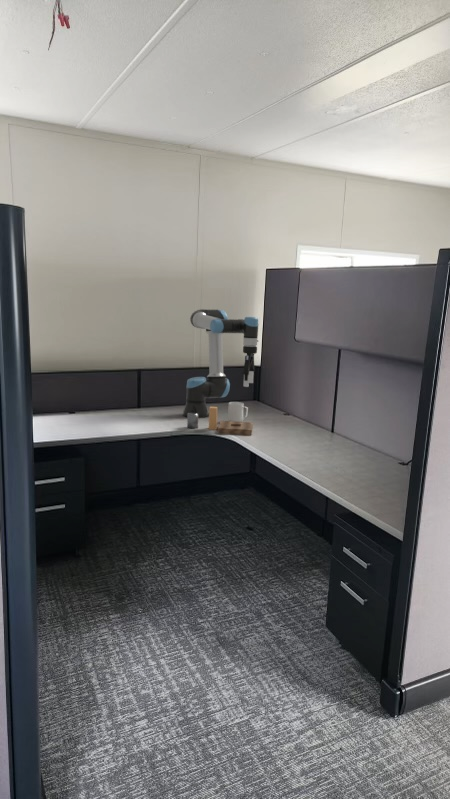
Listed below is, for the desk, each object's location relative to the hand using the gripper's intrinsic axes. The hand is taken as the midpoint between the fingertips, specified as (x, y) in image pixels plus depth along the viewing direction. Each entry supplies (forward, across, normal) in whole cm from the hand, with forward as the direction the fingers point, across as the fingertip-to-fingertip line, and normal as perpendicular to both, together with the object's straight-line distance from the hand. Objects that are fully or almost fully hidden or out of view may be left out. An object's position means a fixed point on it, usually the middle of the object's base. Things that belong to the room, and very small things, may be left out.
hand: (248, 384), depth 296 cm
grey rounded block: (+25, -6, +29) cm, 39 cm away
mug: (+26, +17, +8) cm, 32 cm away
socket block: (+25, -4, +5) cm, 26 cm away
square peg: (+25, -4, +18) cm, 31 cm away
